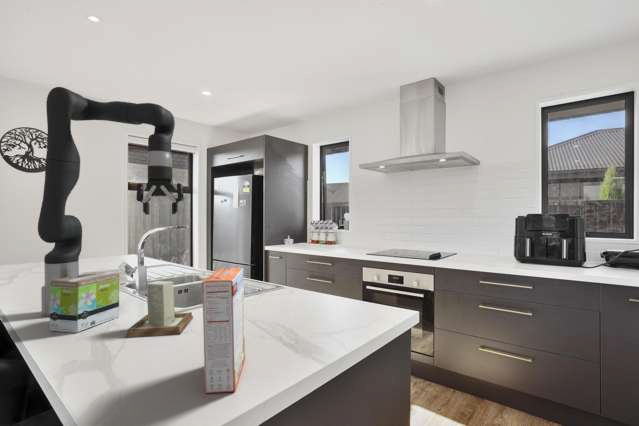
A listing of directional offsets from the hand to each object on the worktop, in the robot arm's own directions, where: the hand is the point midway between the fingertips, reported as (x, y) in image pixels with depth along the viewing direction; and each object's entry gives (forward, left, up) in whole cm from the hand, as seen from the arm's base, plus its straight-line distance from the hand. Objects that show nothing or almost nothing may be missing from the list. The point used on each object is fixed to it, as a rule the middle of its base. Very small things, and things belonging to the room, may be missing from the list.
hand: (160, 214), depth 111 cm
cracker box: (+28, -48, -33) cm, 65 cm away
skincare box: (+5, -15, -32) cm, 36 cm away
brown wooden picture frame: (+5, -15, -33) cm, 37 cm away
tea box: (-19, -8, -33) cm, 39 cm away
